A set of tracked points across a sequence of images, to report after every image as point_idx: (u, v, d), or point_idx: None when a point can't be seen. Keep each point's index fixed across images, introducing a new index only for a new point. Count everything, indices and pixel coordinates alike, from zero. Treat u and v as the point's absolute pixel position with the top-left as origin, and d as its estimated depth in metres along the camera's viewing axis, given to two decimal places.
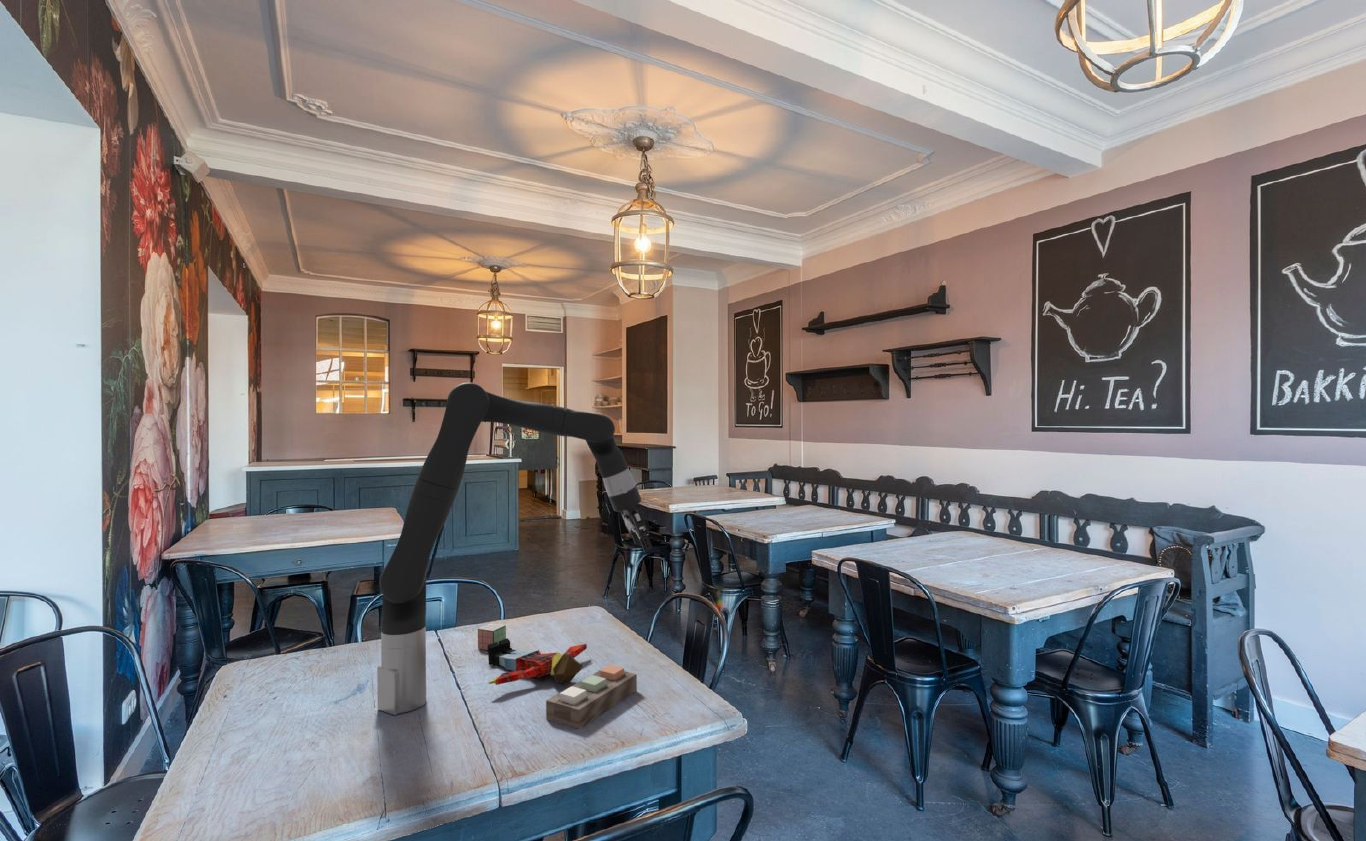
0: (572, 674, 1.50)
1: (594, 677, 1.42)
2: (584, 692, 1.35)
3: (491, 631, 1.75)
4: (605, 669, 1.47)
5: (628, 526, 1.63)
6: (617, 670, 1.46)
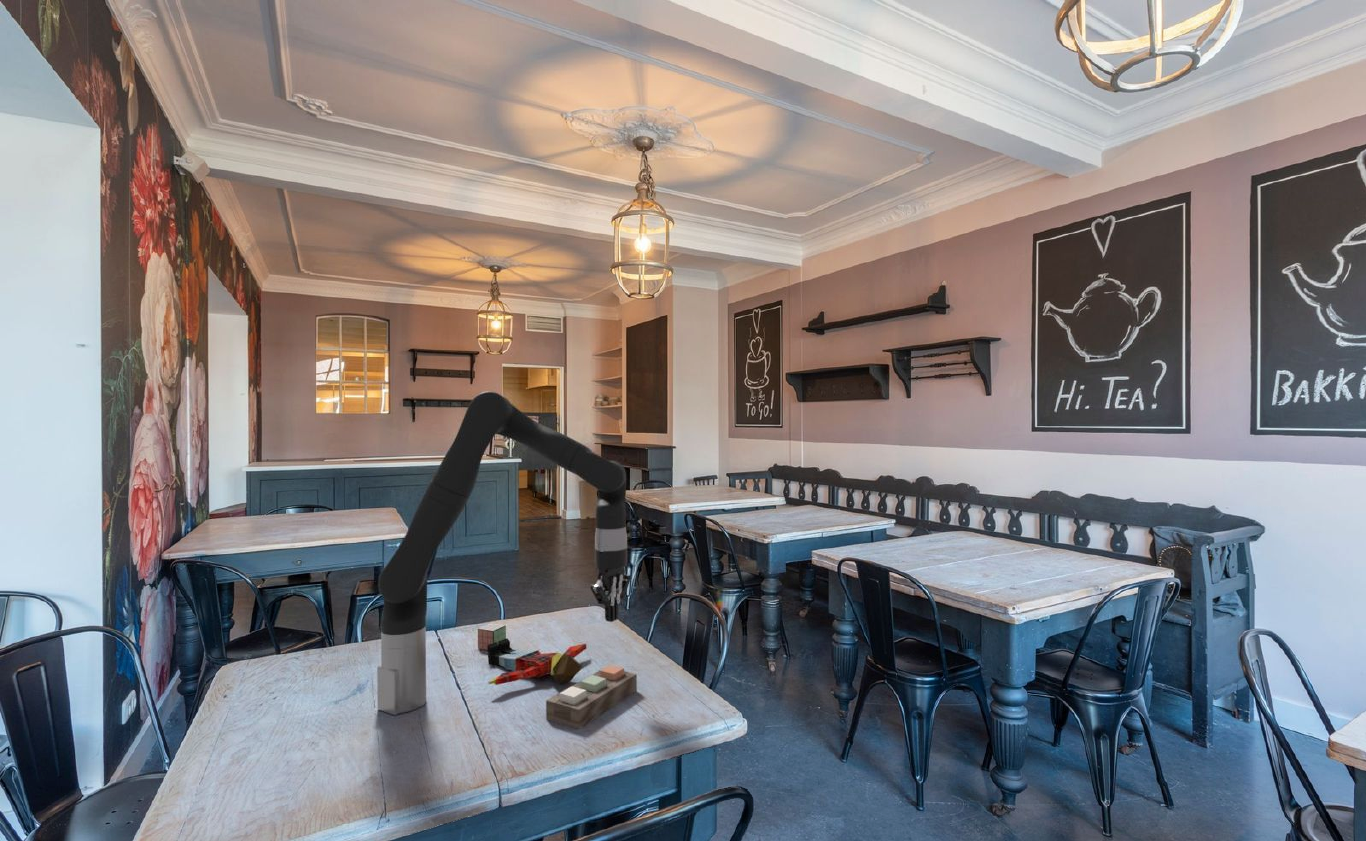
0: (572, 674, 1.50)
1: (594, 677, 1.42)
2: (584, 692, 1.35)
3: (491, 631, 1.75)
4: (605, 669, 1.47)
5: None
6: (617, 670, 1.46)
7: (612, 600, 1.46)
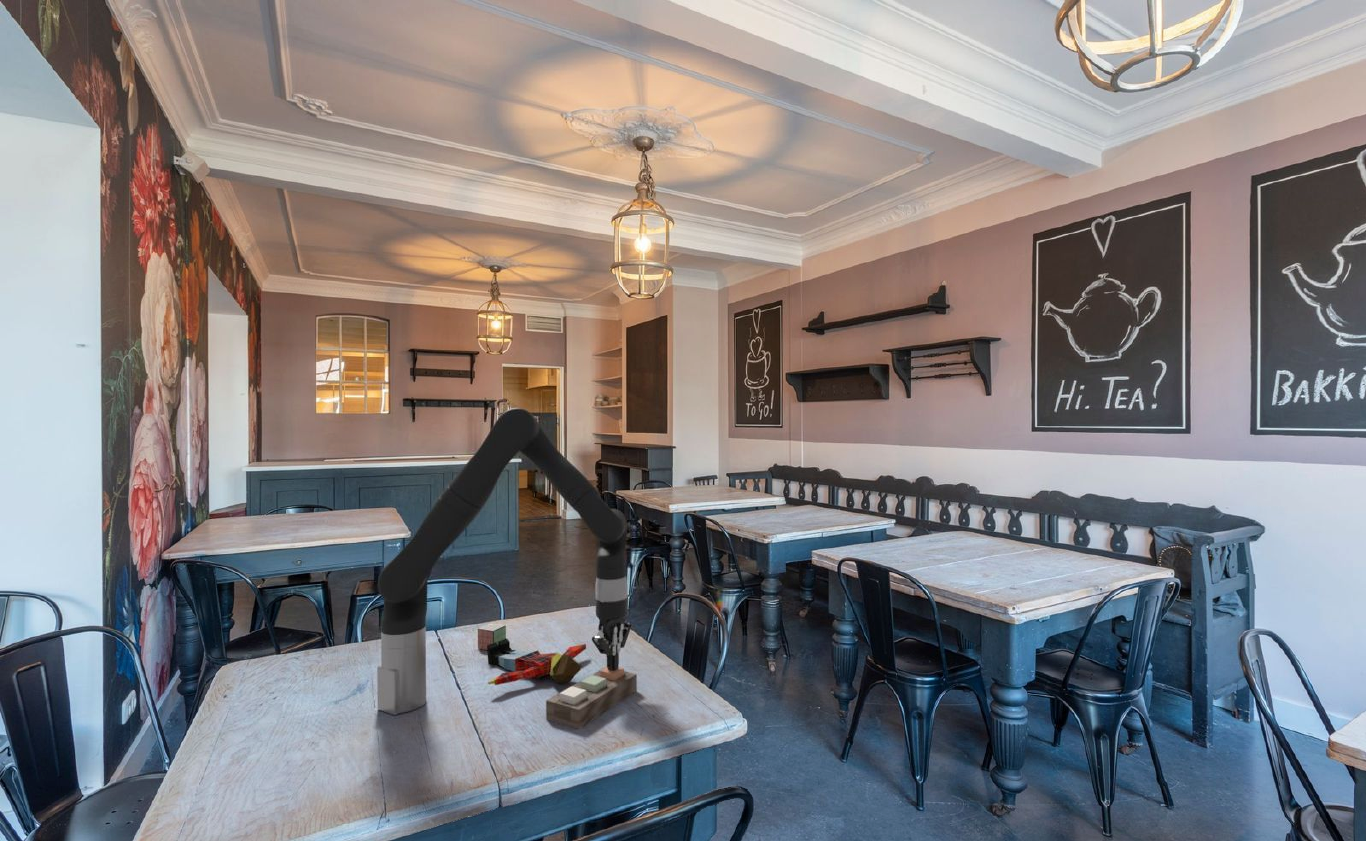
0: (571, 674, 1.50)
1: (594, 677, 1.42)
2: (584, 692, 1.35)
3: (491, 631, 1.75)
4: (605, 669, 1.47)
5: None
6: (617, 670, 1.46)
7: (614, 649, 1.46)
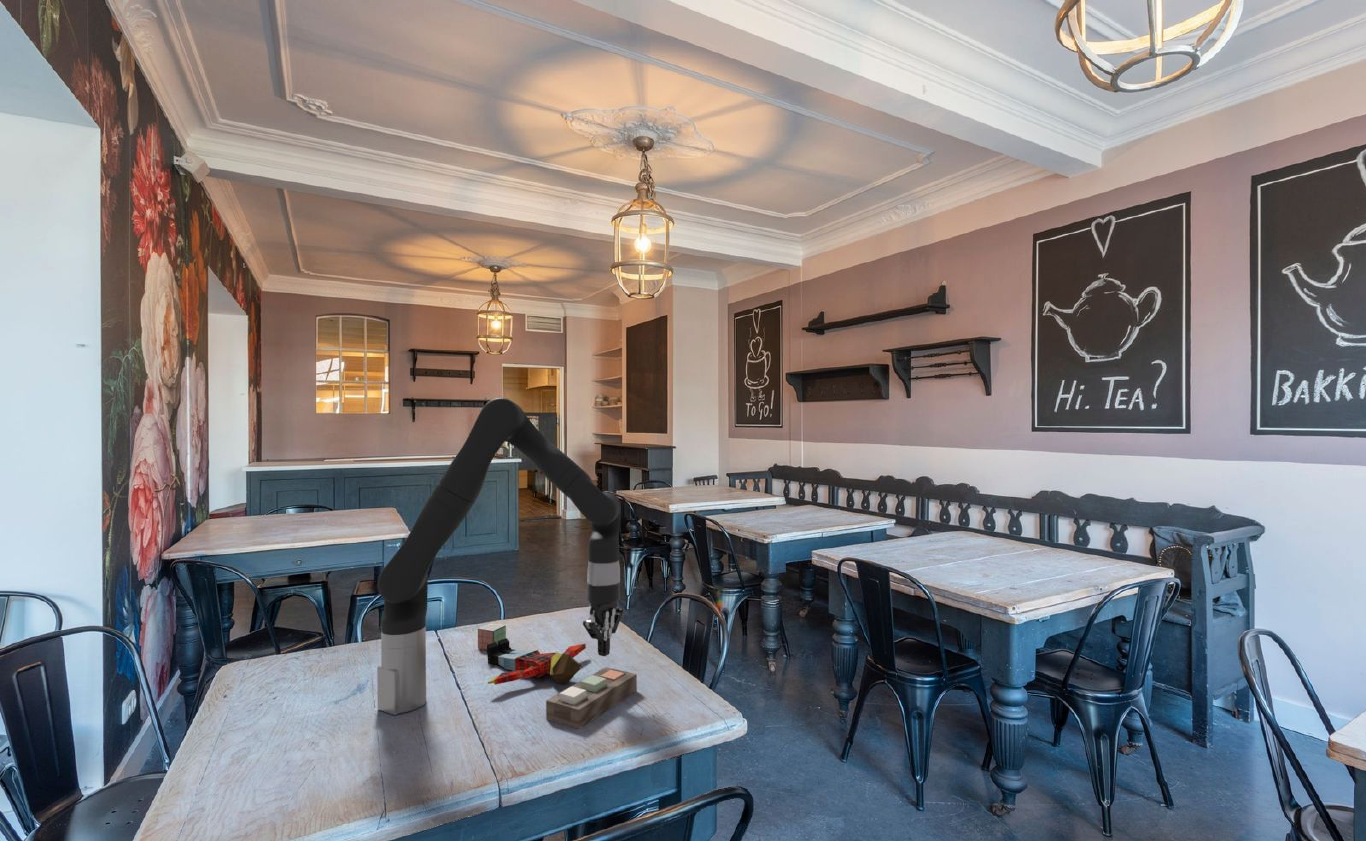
0: (571, 674, 1.50)
1: (594, 677, 1.42)
2: (584, 692, 1.35)
3: (491, 631, 1.75)
4: (605, 674, 1.47)
5: None
6: (617, 675, 1.46)
7: (605, 634, 1.44)
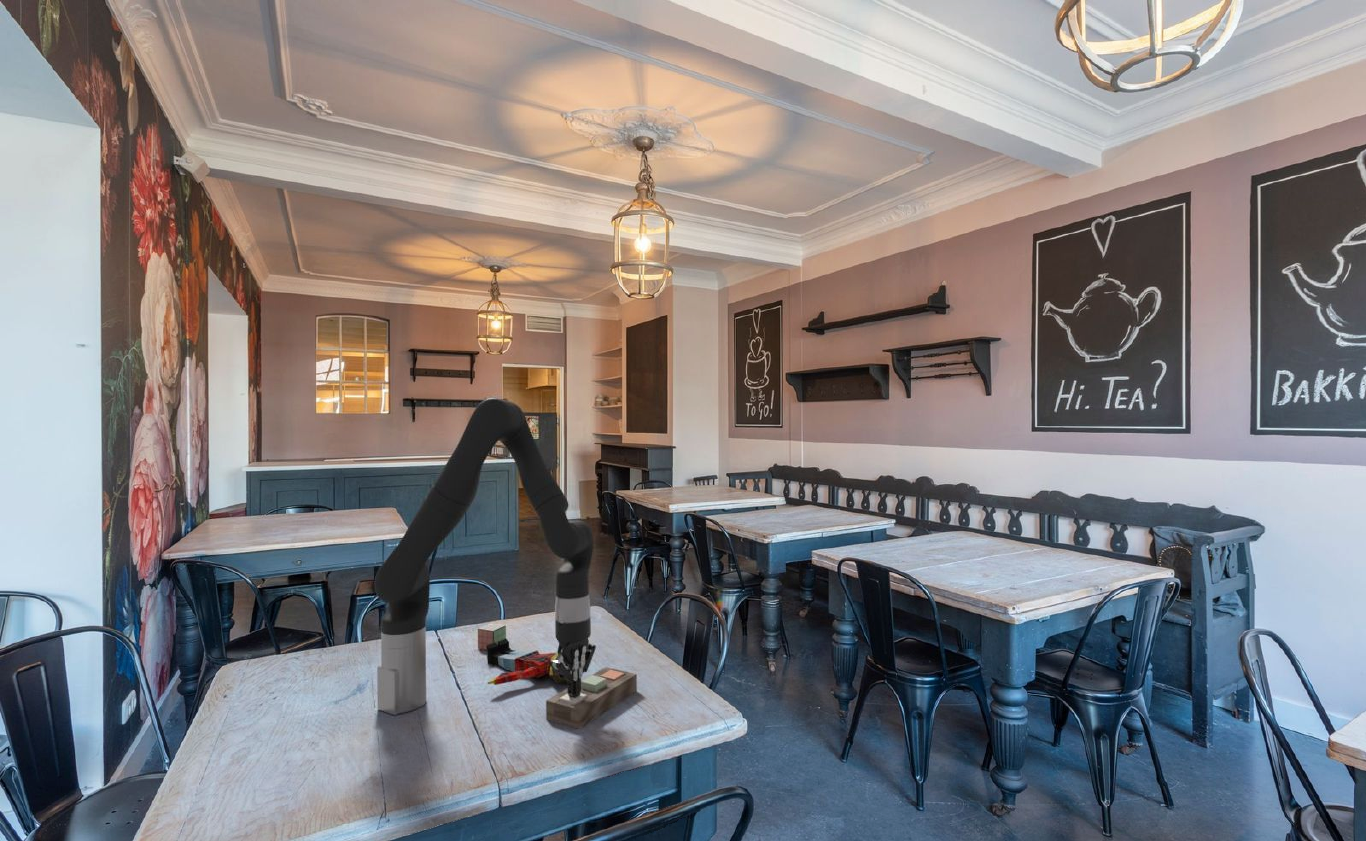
0: None
1: (594, 677, 1.42)
2: (584, 697, 1.35)
3: (491, 631, 1.75)
4: (605, 674, 1.47)
5: None
6: (617, 675, 1.46)
7: (575, 674, 1.34)
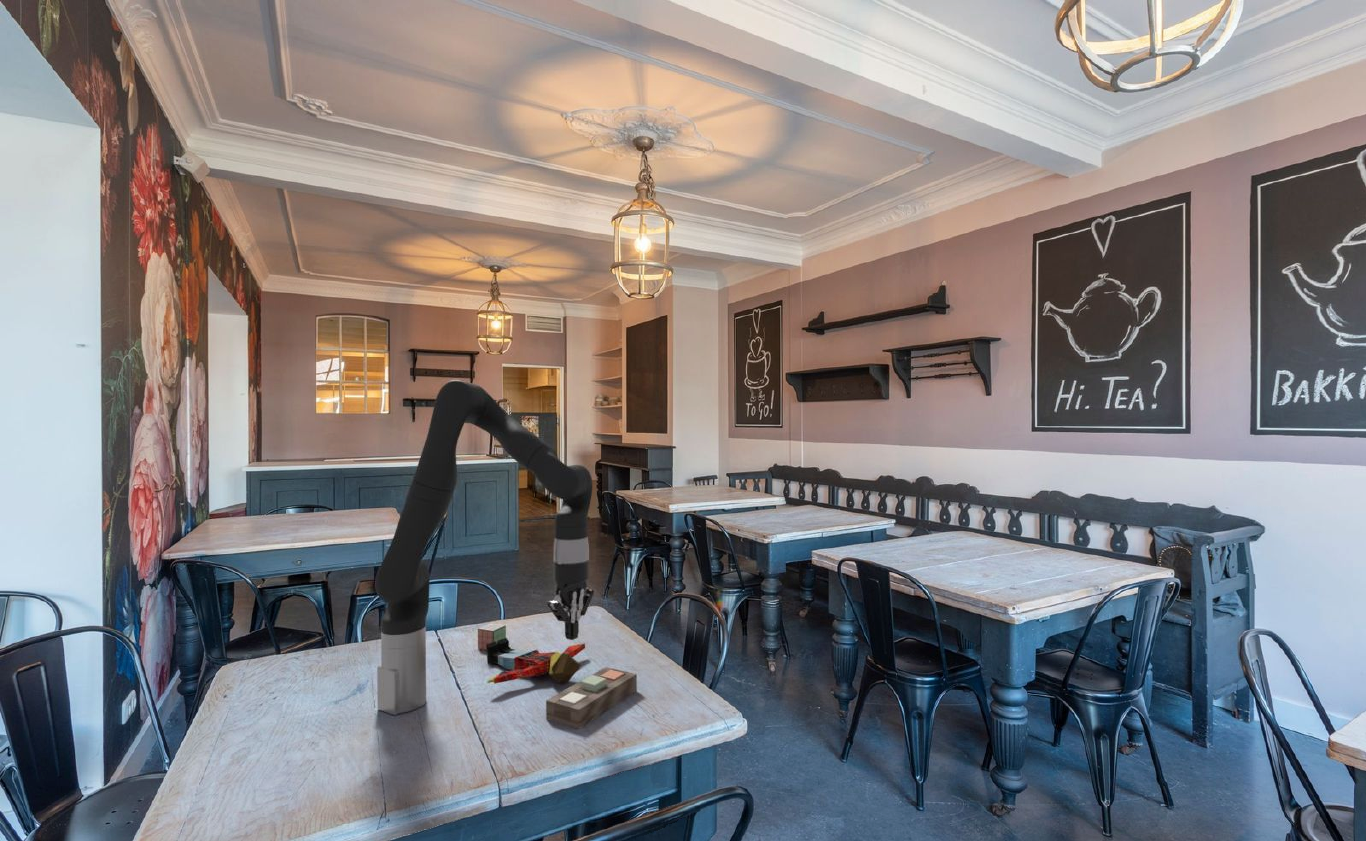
0: (570, 673, 1.50)
1: (594, 677, 1.42)
2: (584, 698, 1.35)
3: (491, 631, 1.75)
4: (605, 674, 1.47)
5: None
6: (617, 675, 1.46)
7: (573, 616, 1.34)
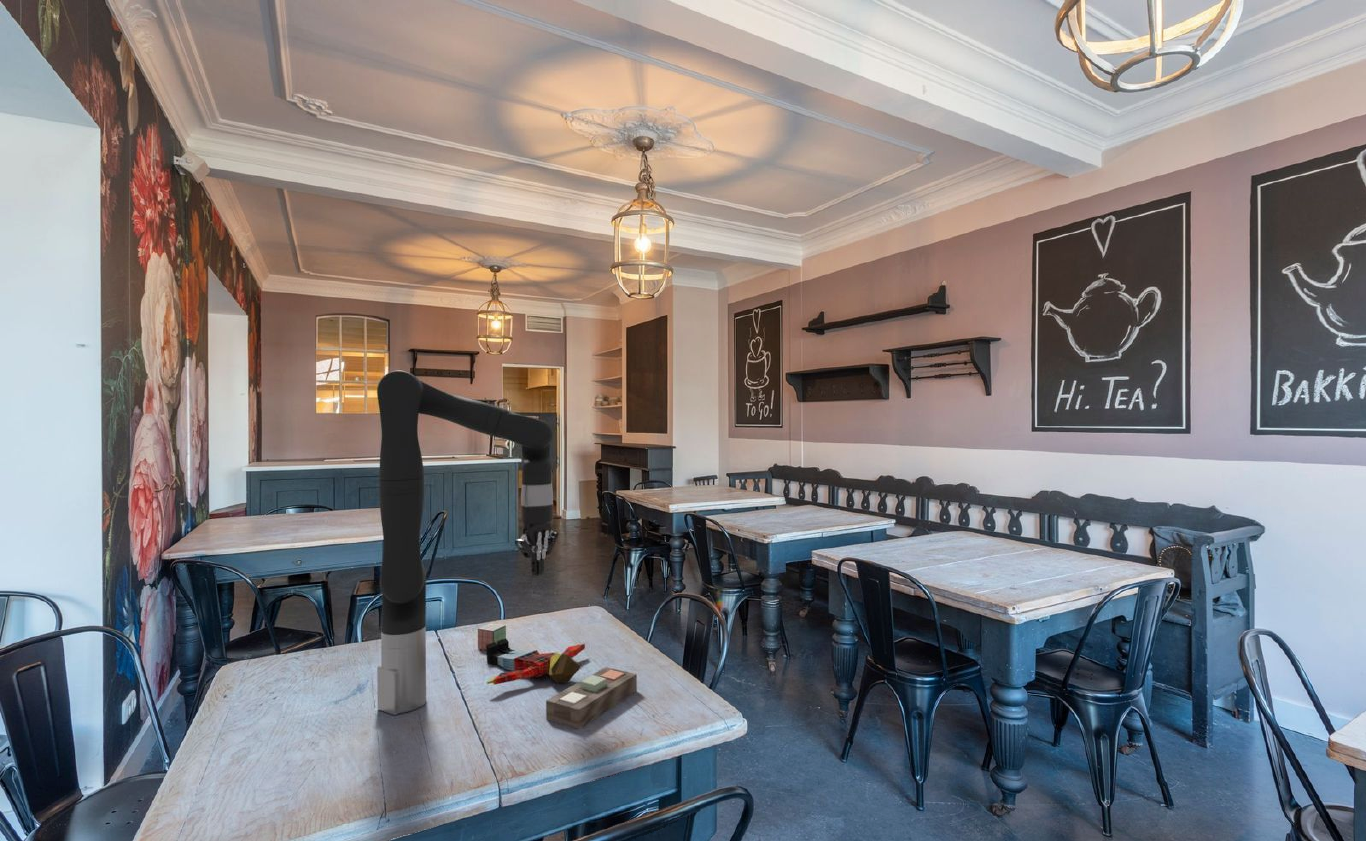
0: (570, 674, 1.50)
1: (594, 677, 1.42)
2: (584, 698, 1.35)
3: (491, 631, 1.75)
4: (605, 674, 1.47)
5: None
6: (617, 675, 1.46)
7: (538, 554, 1.49)
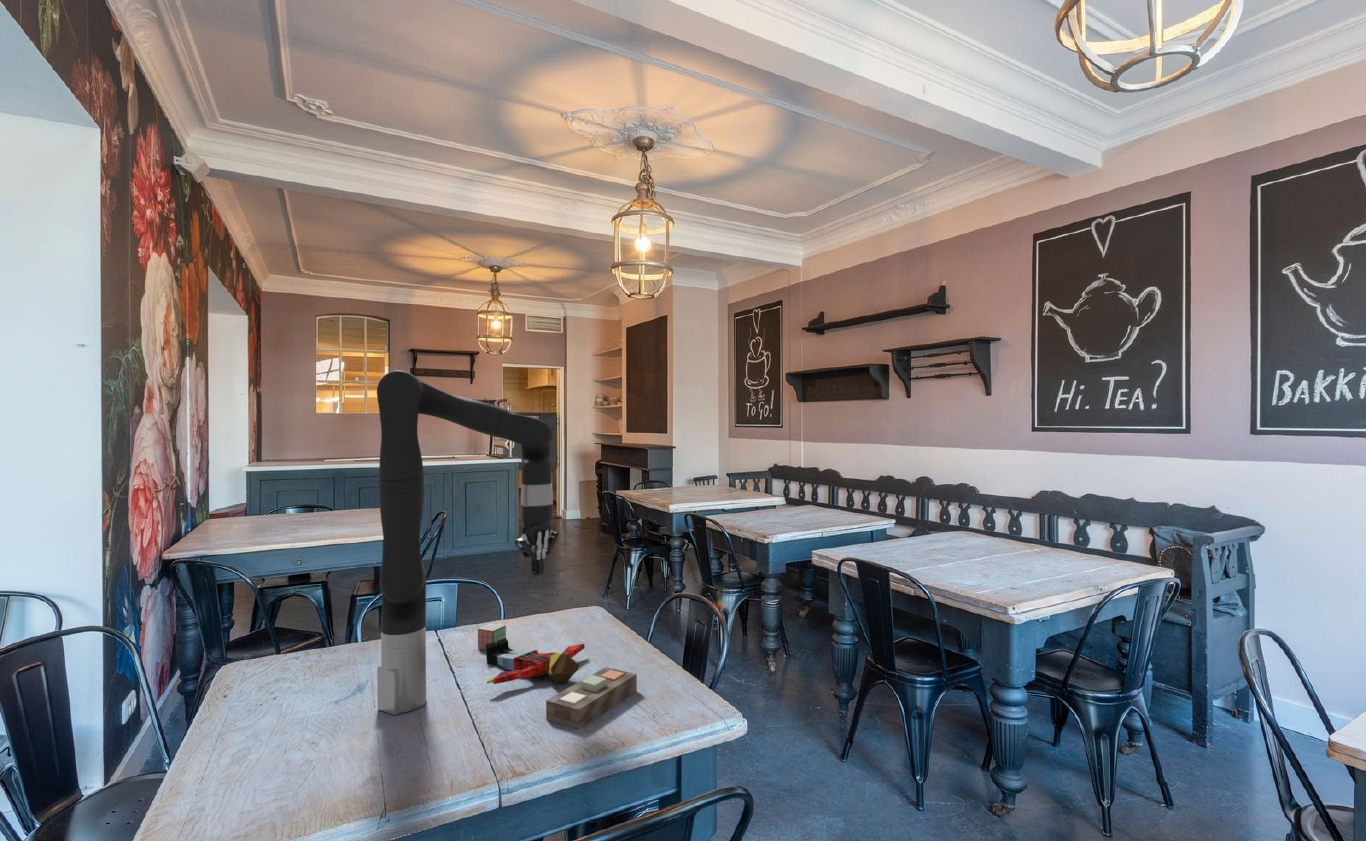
0: (570, 673, 1.50)
1: (594, 677, 1.42)
2: (584, 698, 1.35)
3: (491, 631, 1.75)
4: (605, 674, 1.47)
5: None
6: (617, 675, 1.46)
7: (538, 554, 1.49)
